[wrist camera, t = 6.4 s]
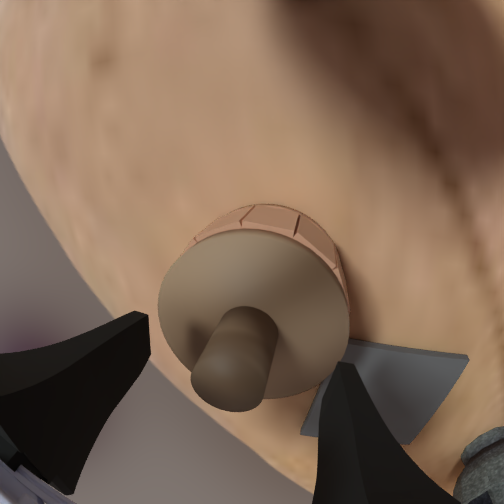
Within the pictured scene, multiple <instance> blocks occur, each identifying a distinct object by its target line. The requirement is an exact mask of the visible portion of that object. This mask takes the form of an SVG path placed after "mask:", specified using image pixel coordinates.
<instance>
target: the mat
mask: <svg viewBox="0 0 504 504" xmlns="http://www.w3.org/2000/svg"><path fill="white" fill-rule="evenodd" d="M340 362H346V363H352V364H354V365H355V366H356V368H357V371H358V373H359V375H360V377H361V379H362V381H363V383H364V385H365V387H366V389H367V391H368V393H369V395H370V397H371V399H372V401H373V403H374V405H375V407H376V408H377V410H378V412H379V414H380V416H381V417H382V419H383V421H384V422H385V424H386V426H387V427H388V429H389V430H390V432H391V433H392V435H393V436H394V438H395V439H396V440H397V442H398V443H399V444H410V443H411V442H412V441H413V440H414V438H415V437H416V436H417V435H418V434H419V432H420V431H421V430H422V429H423V427H424V426H425V425H426V424H427V422H428V421H429V420H430V418H431V417H432V416H433V414H434V413H435V412H436V410H437V409H438V408H439V406H440V405H441V403H442V402H443V401H444V399H445V398H446V396H447V395H448V393H449V392H450V390H451V389H452V388H453V386H454V384H455V383H456V381H457V380H458V378H459V377H460V375H461V374H462V372H463V370H464V369H465V367H466V365H467V364H468V362H469V358H468V356H467V355H463V354H454V353H445V352H436V351H428V350H421V349H413V348H406V347H399V346H393V345H386V344H380V343H373V342H367V341H361V340H356V339H350V338H349V339H348V344H347V347H346V350H345V353H344V355H343V357H342V359H341V361H340ZM333 372H334V371H333ZM333 372H332V373H331V374H330V375H329V376H328V377H327V378H326V379H324V380H323V381H322V382H321V384H320V387H319V389H318V392H317V394H316V396H315V399H314V401H313V403H312V406H311V408H310V410H309V412H308V415H307V417H306V419H305V421H304V424H303V426H302V428H301V432H300V435H306V436H312V437H318V433H319V417H320V409H321V403H322V397H323V395H324V393H325V391H326V388H327V386H328V384H329V381H330V379H331V377H332V374H333Z"/></svg>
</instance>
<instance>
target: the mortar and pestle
mask: <svg viewBox="0 0 504 504" xmlns="http://www.w3.org/2000/svg"><path fill="white" fill-rule="evenodd" d="M461 459H462V462H463V463H464V465H465V468H464V469H463V471H462V472H461V474H460V476H459V477H458V479H457V482H456V485H455V488H454V490H453V497H454V498H455V499H457V500H458V501H460V502H461V504H504V426H503V427H496V428H494V429H492V430H490V431H488V432H486V433H484V434H482V435H480V436H479V437H477V438H476V439H475V440H474V441H473V442H471V443H470V444H469V445H468V446H466V447H465V449H464V451H463V453H462V455H461Z"/></svg>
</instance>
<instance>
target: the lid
mask: <svg viewBox="0 0 504 504" xmlns="http://www.w3.org/2000/svg"><path fill="white" fill-rule="evenodd" d="M158 316H159V321H160V326H161V329H162V332H163V334H164V337H165V339H166V341H167V343H168V345H169V346H170V348H171V350H172V351H173V353H174V354H175V355H176V357H177V358H178V359H179V360H180V361H181V363H182V364H183V365H184V366H185V367H186V368H187V369H188V370H190V371H191V372H192V373H191V384H192V387H193V388H194V390H195V392H196V393H197V394H198V395H199V397H201V398H202V399H203V400H204V401H205V402H207V403H208V404H210V405H212V406H214V407H216V408H218V409H221V410H225V411H230V412H244V411H249V410H252V409H254V408H255V407H257V406H258V405H259V404H260V403H261V402H262V400H263V399H277V398H283V397H289V396H292V395H296V394H299V393H302V392H304V391H307V390H309V389H311V388H312V387H314V386H316V385H318V384H319V383H320V382H322V381H323V380H324V379H326V378H327V377H328V376H329V375H330V374H331V373H332V372H333V371H334V369H335V367H336V364H337V362H338V361H341V359H342V357H343V355H344V353H345V350H346V347H347V344H348V339H349V325H350V323H349V315H348V307H347V301H346V297H345V294H344V291H343V288H342V286H341V284H340V282H339V280H338V278H337V276H336V275H335V274H334V272H333V271H332V269H331V268H330V267H329V265H328V264H327V263H326V262H325V261H324V260H323V259H322V258H321V257H320V256H319V255H317V254H316V253H315V252H314V251H313V250H311V249H310V248H308V247H307V246H305V245H304V244H302V243H300V242H299V241H297V240H294V239H292V238H290V237H288V236H286V235H282V234H279V233H276V232H272V231H267V230H261V229H247V228H243V229H233V230H227V231H223V232H219V233H216V234H213V235H211V236H208V237H206V238H204V239H203V240H201V241H199V242H197V243H196V244H195V245H193V246H192V247H191V248H190V249H188V250H187V251H186V252H185V253H184V254H183V255H182V256H181V257H179V258H178V259H177V261H176V262H175V263H174V264H173V265H172V266H171V267H170V269H169V271H168V272H167V274H166V275H165V277H164V280H163V282H162V284H161V288H160V292H159V298H158Z"/></svg>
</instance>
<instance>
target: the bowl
mask: <svg viewBox="0 0 504 504" xmlns="http://www.w3.org/2000/svg"><path fill="white" fill-rule="evenodd" d="M243 228H247V229H261V230H267V231H272V232H276V233H279V234H282V235H286V236H288V237H290V238H292V239H294V240H297V241H299V242H300V243H302V244H304V245H305V246H307V247H308V248H310V249H311V250H313V251H314V252H315V253H316V254H317V255H319V256H320V257H321V258H322V259H323V260H324V261H325V262H326V263H327V264H328V265H329V267H330V268H331V269H332V271H333V272H334V274H335V275H336V276H337V278H338V280H339V282H340V284H341V286H342V288H343V291H344V294H345V297H346V301H347V307H348V315H349V316H350V305H349V298H348V292H347V286H346V279H345V276H344V273H343V269H342V266H341V261H340V257H339V254H338V251H337V249H336V246H335V243H333V241H332V240H331V238H330V237H329V235H328V234H327V233H326V231H325V230H324V229H323V228H322V227H321V226H320V225H319V224H318V223H316V222H315V221H314V220H313V219H311V218H310V217H308V216H307V215H305V214H303V213H301V212H299V211H297V210H294V209H292V208H289V207H285V206H281V205H275V204H256V205H249V206H246V207H242V208H239V209H237V210H235V211H232V212H230V213H229V214H227V215H225V216H222V217H220V218H217V219H216V220H215V221H214V222H212V223H211V224H210V225H209V226H207V227H206V228H205V229H204V230H202V231H201V232H200V233H199V234H197V235H196V236H195V237H194V238H193V239H192V240H191V241H190V243H189V244H188V246H187V247H186V248H185V250H184V251H183V253H182V254H181V255H180V257H181V256H182V255H183V254H184V253H185V252H186V251H187V250H188V249H190V248H191V247H192V246H193V245H195V244H196V243H197V242H199V241H201V240H203V239H204V238H206V237H208V236H211V235H213V234H216V233H219V232H223V231H227V230H233V229H243Z"/></svg>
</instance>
